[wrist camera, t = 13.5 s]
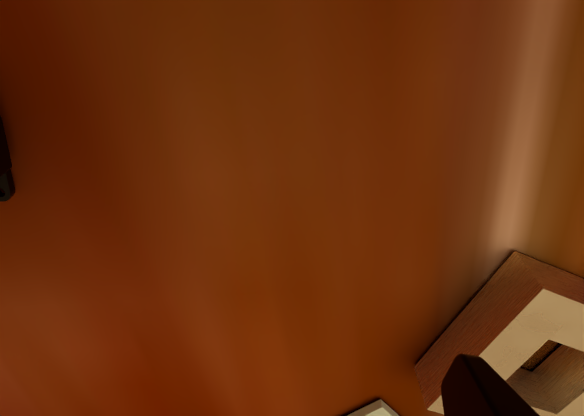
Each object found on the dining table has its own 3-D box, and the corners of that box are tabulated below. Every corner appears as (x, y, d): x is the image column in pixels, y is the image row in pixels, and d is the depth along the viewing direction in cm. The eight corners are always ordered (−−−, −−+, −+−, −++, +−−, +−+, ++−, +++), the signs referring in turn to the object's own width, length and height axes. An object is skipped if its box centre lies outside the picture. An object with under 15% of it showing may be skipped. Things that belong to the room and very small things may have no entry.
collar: (413, 366, 28) (426, 409, 26) (514, 251, 23) (543, 288, 21) (537, 404, 30) (560, 447, 28) (651, 305, 26) (692, 346, 23)
